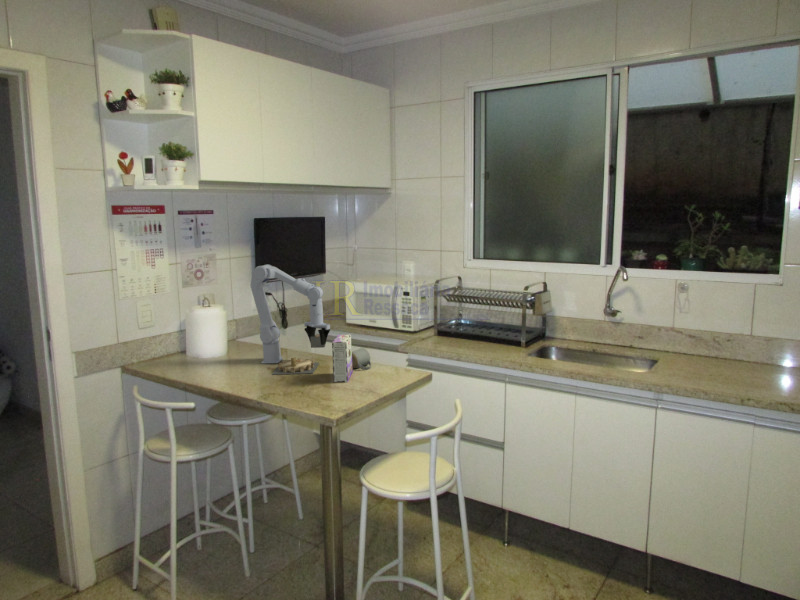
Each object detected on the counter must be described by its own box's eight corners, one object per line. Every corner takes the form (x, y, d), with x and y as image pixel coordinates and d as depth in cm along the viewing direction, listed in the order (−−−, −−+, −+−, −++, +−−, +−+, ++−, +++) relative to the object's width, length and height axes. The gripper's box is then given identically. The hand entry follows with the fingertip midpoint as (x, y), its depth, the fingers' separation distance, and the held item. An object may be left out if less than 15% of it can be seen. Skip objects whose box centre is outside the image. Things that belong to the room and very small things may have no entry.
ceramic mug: (345, 367, 237) (344, 350, 235) (358, 363, 243) (358, 346, 241) (362, 372, 230) (362, 354, 228) (376, 367, 236) (375, 350, 235)
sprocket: (271, 370, 234) (270, 357, 233) (294, 361, 247) (294, 349, 246) (298, 374, 227) (297, 361, 226) (321, 365, 239) (320, 353, 239)
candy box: (339, 372, 229) (337, 334, 226) (353, 372, 228) (351, 334, 226) (333, 382, 215) (331, 341, 213) (348, 382, 215) (346, 341, 212)
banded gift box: (312, 346, 248) (311, 335, 247) (325, 345, 248) (324, 334, 247) (310, 347, 245) (310, 336, 244) (324, 347, 245) (323, 336, 244)
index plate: (281, 364, 245) (281, 363, 245) (319, 363, 245) (319, 362, 245) (272, 374, 229) (272, 373, 229) (312, 373, 228) (312, 372, 228)
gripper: (298, 313, 246) (300, 343, 248) (321, 316, 237) (322, 347, 239) (310, 311, 251) (311, 340, 253) (332, 314, 242) (334, 344, 244)
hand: (317, 343), depth 246 cm, fingers closed on banded gift box, 7 cm apart
